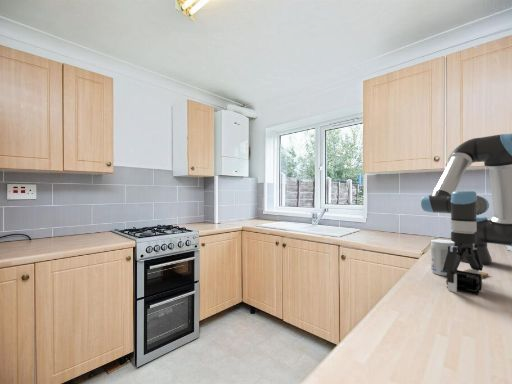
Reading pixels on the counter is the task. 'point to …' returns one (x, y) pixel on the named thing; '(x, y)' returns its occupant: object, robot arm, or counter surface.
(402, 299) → the counter surface
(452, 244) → the supplement tub
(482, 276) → the oak coaster
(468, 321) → the counter surface
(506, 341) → the counter surface
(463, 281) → the end cap
